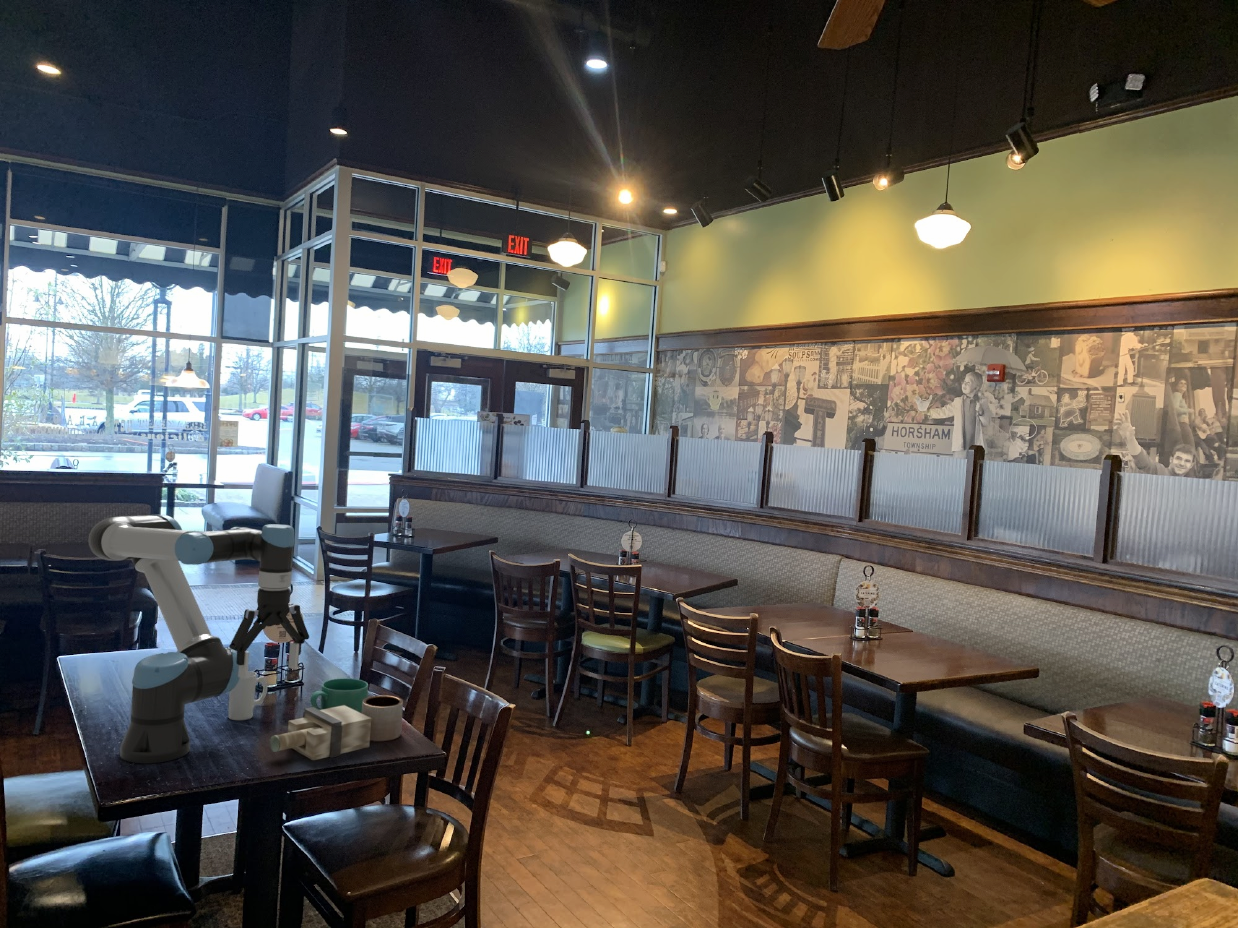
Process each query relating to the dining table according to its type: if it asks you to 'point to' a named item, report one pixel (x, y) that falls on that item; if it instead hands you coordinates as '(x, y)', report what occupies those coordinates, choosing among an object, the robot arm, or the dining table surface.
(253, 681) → the mug
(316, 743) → the sleeve block
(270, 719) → the dining table surface
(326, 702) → the mug
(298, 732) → the dowel
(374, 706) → the planter
